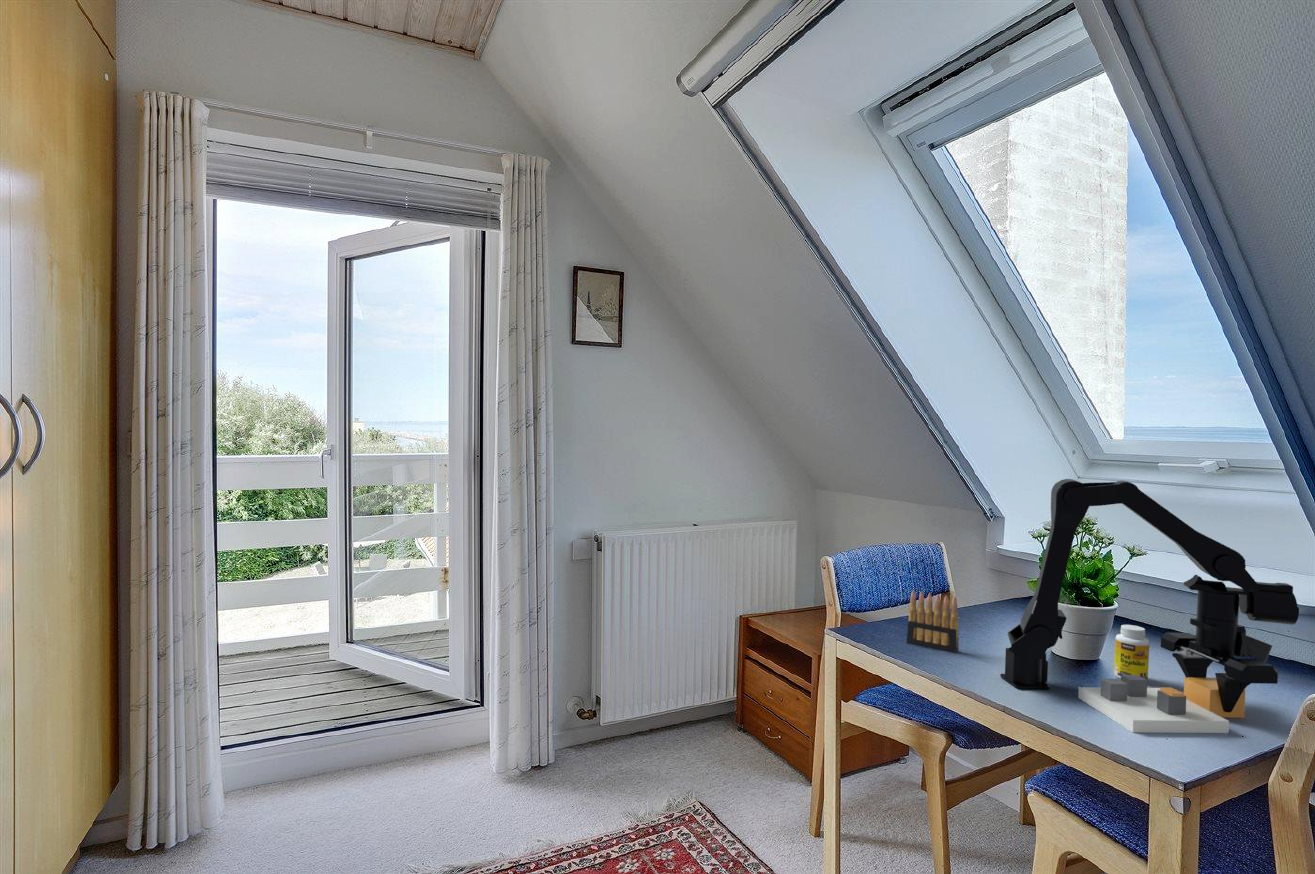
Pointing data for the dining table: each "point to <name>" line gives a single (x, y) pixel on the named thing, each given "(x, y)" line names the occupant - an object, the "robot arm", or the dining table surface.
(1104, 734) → the dining table surface
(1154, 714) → the board
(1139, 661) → the supplement bottle
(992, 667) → the dining table surface
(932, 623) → the ammunition clip
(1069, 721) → the dining table surface
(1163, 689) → the block
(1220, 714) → the orange block
